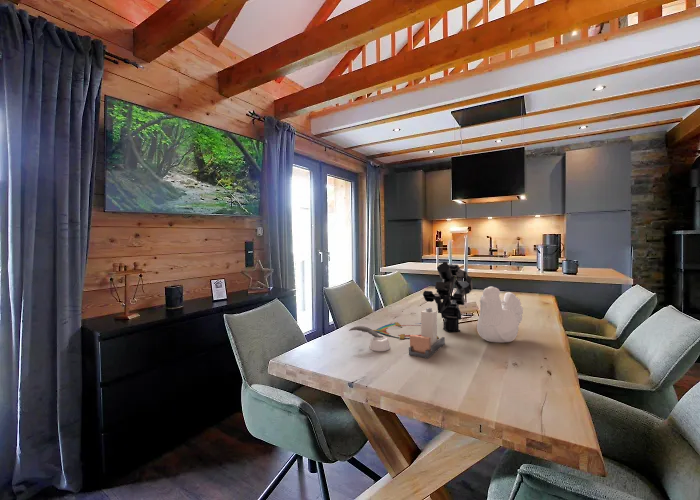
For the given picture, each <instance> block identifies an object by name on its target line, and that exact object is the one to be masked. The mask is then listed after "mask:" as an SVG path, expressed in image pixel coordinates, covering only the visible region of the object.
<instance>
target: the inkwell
mask: <svg viewBox="0 0 700 500" xmlns="http://www.w3.org/2000/svg"><path fill="white" fill-rule="evenodd" d="M374 330H375V329H372V328H371V327H367V326H365V325H364V326H363V325H359V326H358V325H357V326H354V327H351V328H350V329H348V331H360V332H363V333H367V334H369V335H371V336H373V337H371V339H370V342H369V345H368V348H369V350H371V351H373V352H385V351H389V350H390V349H391V345H390V342H389V338H388V337H386V335H385V334H378V332H375V331H374Z"/></svg>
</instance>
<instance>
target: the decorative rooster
mask: <svg viewBox="0 0 700 500" xmlns="http://www.w3.org/2000/svg"><path fill="white" fill-rule="evenodd" d="M500 295H501V291H500V289H499V288H497V287H495V286H488V287H486V288H484V289H483V291H482V295H481V297H480V299H479V304H480V306H479V307H480V309H479V316H478V319H477V324H476V331H477V333H478V335H479V336H480V338H482V339H483V340H485V341H487V342H491V343H511V342H512V341H514V340H515V339H516V338H517V336H518V333H519V328H520V327H519V326H520V323H522V321H523V314H524V308H523V306H522V303H521V299H520V298H518V297H517V296H516V295H517V294H514V293H513V292H510V291H508V292H507V291H506V292H505V293H504V295H503V299H501V298H500Z"/></svg>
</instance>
